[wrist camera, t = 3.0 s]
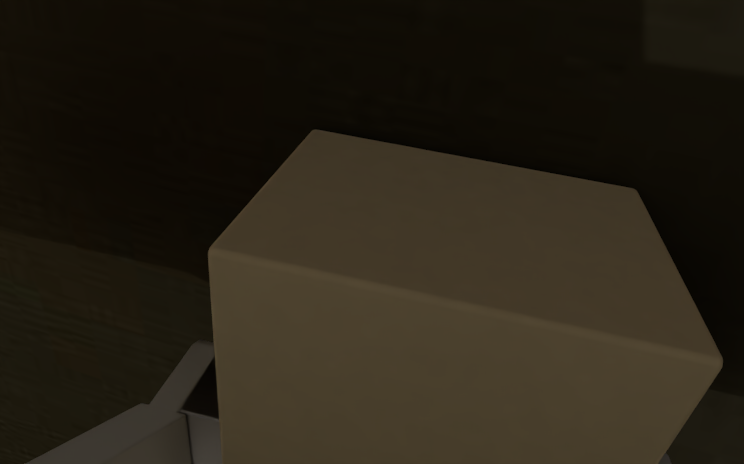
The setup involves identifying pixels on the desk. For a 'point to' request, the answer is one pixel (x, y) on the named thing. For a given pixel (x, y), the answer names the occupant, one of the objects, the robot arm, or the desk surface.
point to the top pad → (448, 316)
